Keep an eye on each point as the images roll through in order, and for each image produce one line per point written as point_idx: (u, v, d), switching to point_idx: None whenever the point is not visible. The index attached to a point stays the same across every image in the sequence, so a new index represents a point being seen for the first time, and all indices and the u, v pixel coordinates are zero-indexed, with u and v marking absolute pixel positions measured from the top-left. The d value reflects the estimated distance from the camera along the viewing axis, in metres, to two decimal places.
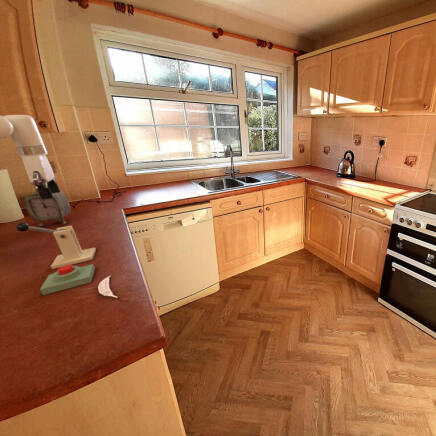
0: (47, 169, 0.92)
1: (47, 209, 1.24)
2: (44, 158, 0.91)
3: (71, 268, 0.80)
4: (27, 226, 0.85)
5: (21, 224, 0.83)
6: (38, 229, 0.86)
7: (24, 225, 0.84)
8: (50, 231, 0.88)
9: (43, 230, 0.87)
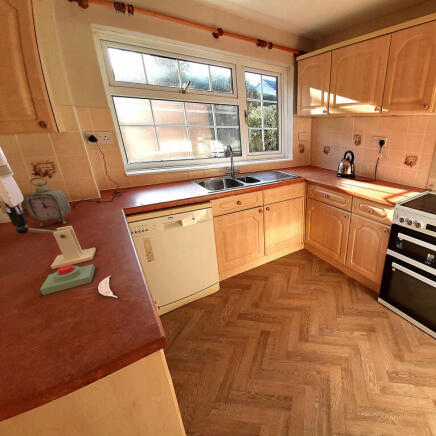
0: (13, 192, 0.80)
1: (47, 209, 1.24)
2: (9, 180, 0.79)
3: (71, 268, 0.80)
4: (26, 228, 0.85)
5: (20, 226, 0.83)
6: (38, 230, 0.86)
7: (23, 227, 0.84)
8: (50, 232, 0.88)
9: (43, 231, 0.87)
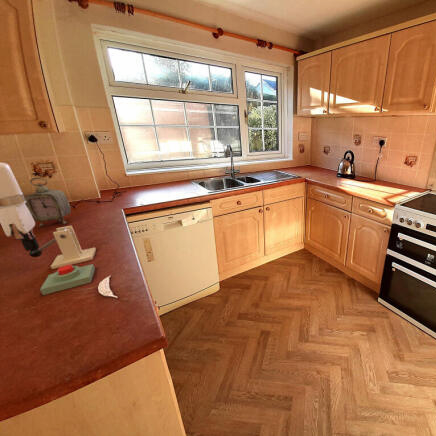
0: (25, 219, 0.83)
1: (47, 209, 1.24)
2: (22, 207, 0.83)
3: (71, 268, 0.80)
4: (36, 250, 0.88)
5: (30, 252, 0.87)
6: (45, 245, 0.89)
7: (33, 251, 0.87)
8: (53, 240, 0.89)
9: (49, 243, 0.89)
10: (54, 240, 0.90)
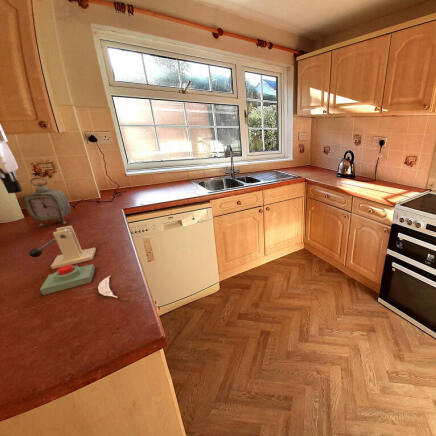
0: (7, 158, 0.81)
1: (47, 209, 1.24)
2: (3, 146, 0.81)
3: (71, 268, 0.80)
4: (36, 250, 0.88)
5: (30, 252, 0.87)
6: (45, 245, 0.89)
7: (33, 251, 0.87)
8: (53, 240, 0.89)
9: (49, 243, 0.89)
10: (54, 240, 0.90)
